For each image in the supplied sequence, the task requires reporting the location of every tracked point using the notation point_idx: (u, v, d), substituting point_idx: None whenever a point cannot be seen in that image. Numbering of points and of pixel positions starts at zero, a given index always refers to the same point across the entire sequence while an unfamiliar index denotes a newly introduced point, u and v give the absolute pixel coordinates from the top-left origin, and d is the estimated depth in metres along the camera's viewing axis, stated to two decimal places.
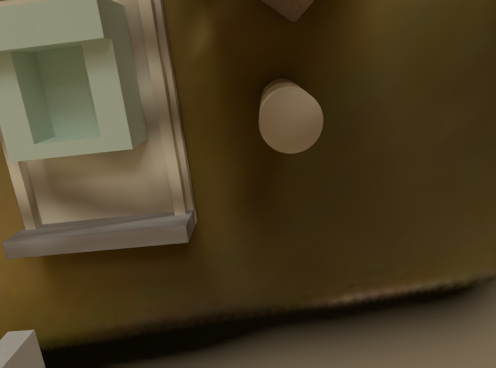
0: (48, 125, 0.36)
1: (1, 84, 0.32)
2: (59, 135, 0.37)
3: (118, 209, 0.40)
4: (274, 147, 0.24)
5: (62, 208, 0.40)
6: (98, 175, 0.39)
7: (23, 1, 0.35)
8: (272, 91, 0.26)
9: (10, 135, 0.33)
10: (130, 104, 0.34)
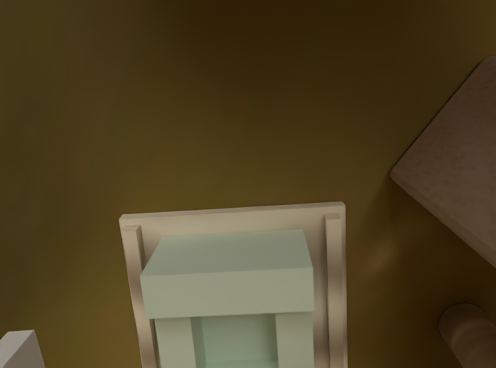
0: (203, 355, 0.31)
1: (172, 335, 0.27)
2: (211, 361, 0.32)
3: None
4: None
5: None
6: None
7: (186, 218, 0.30)
8: None
9: None
10: None
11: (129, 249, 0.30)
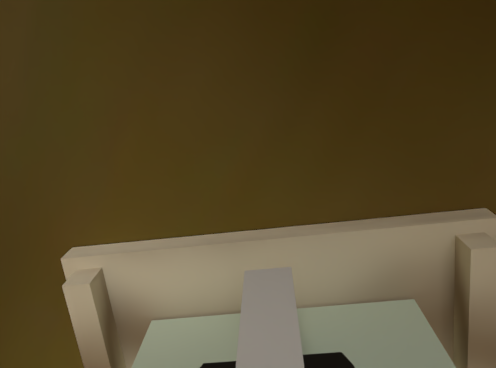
0: None
1: None
2: None
3: None
4: None
5: None
6: None
7: (187, 253, 0.16)
8: None
9: None
10: None
11: (80, 318, 0.15)
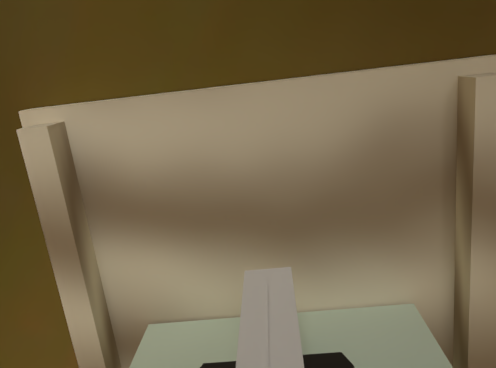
0: None
1: None
2: None
3: None
4: None
5: None
6: None
7: (158, 102, 0.14)
8: None
9: None
10: None
11: (38, 170, 0.14)
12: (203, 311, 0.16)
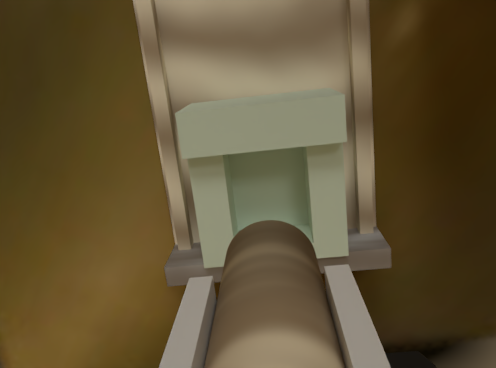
0: (235, 220, 0.32)
1: (206, 185, 0.28)
2: None
3: None
4: None
5: None
6: None
7: None
8: None
9: (209, 239, 0.29)
10: None
11: (142, 7, 0.28)
12: (220, 95, 0.31)
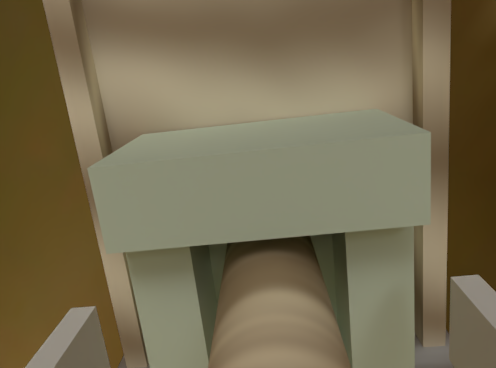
0: None
1: (160, 289, 0.15)
2: None
3: None
4: None
5: None
6: None
7: None
8: None
9: None
10: None
11: None
12: (191, 121, 0.18)
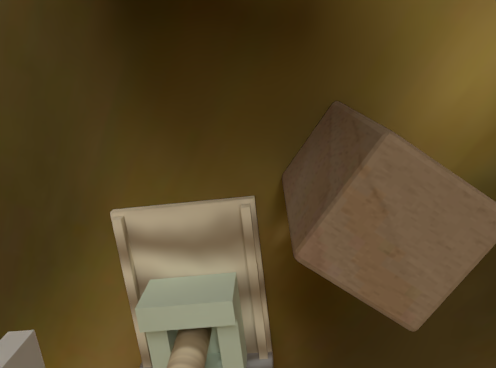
0: None
1: (156, 341, 0.46)
2: None
3: None
4: None
5: None
6: None
7: (153, 210, 0.47)
8: None
9: None
10: (242, 346, 0.48)
11: (117, 231, 0.46)
12: (168, 275, 0.49)
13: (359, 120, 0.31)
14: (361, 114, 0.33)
